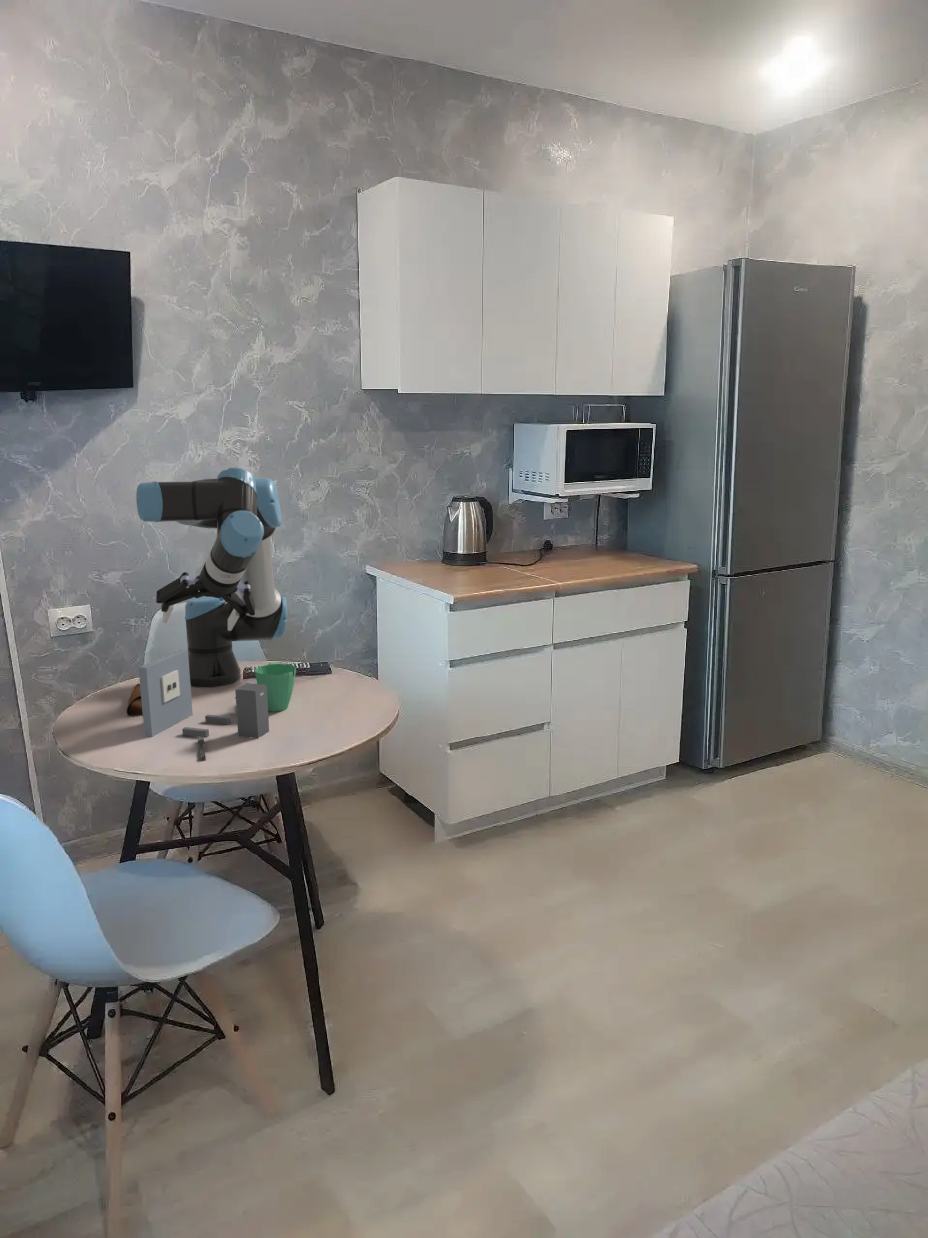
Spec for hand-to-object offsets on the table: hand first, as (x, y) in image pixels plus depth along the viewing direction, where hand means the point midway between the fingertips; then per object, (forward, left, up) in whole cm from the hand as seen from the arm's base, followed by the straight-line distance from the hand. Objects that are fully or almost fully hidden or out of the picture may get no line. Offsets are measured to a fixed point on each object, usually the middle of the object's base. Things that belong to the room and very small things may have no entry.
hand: (197, 621), depth 194 cm
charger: (-7, +8, -27) cm, 29 cm away
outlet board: (-7, -8, -27) cm, 29 cm away
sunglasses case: (-20, -29, -28) cm, 45 cm away
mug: (-27, +3, -27) cm, 39 cm away
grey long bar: (+6, +3, -27) cm, 28 cm away
